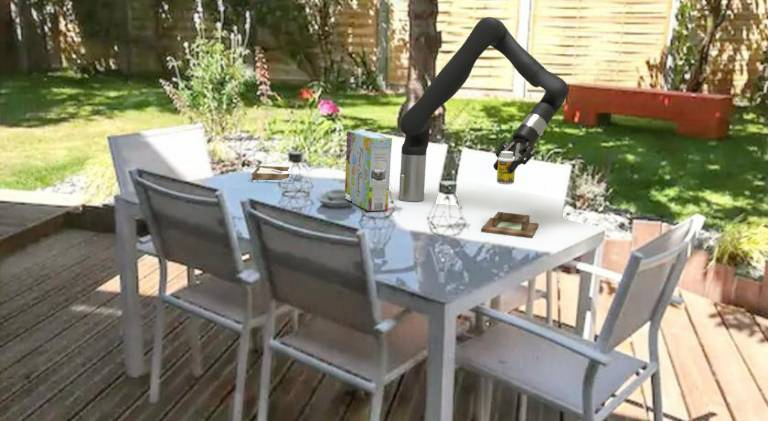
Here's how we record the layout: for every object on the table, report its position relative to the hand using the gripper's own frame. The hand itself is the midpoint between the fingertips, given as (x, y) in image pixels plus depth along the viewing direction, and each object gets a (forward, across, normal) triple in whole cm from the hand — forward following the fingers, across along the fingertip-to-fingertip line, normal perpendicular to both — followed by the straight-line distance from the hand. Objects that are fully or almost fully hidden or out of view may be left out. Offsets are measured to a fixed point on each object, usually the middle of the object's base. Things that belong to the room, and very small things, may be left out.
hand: (502, 170), depth 228 cm
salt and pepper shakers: (+33, -102, -9) cm, 108 cm away
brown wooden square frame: (+12, +4, +14) cm, 19 cm away
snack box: (+27, -46, -2) cm, 53 cm away
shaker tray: (+31, -102, -8) cm, 107 cm away
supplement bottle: (+2, 0, +5) cm, 5 cm away
